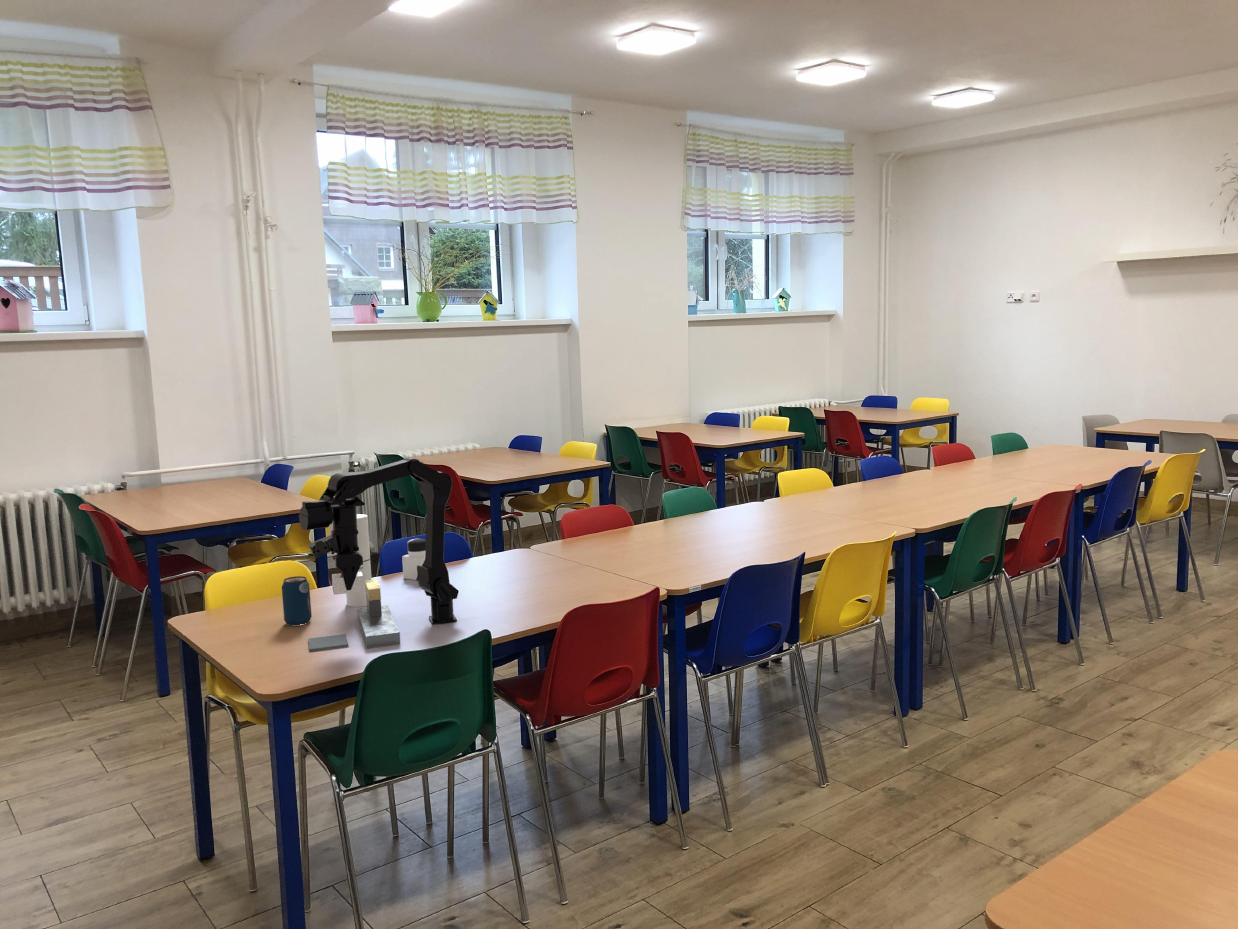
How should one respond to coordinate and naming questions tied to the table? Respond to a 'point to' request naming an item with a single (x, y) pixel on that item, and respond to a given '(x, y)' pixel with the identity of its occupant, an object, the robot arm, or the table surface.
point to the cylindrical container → (364, 550)
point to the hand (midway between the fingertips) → (347, 587)
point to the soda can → (296, 600)
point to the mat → (328, 642)
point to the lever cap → (340, 586)
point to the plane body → (378, 625)
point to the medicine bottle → (413, 558)
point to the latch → (372, 590)
